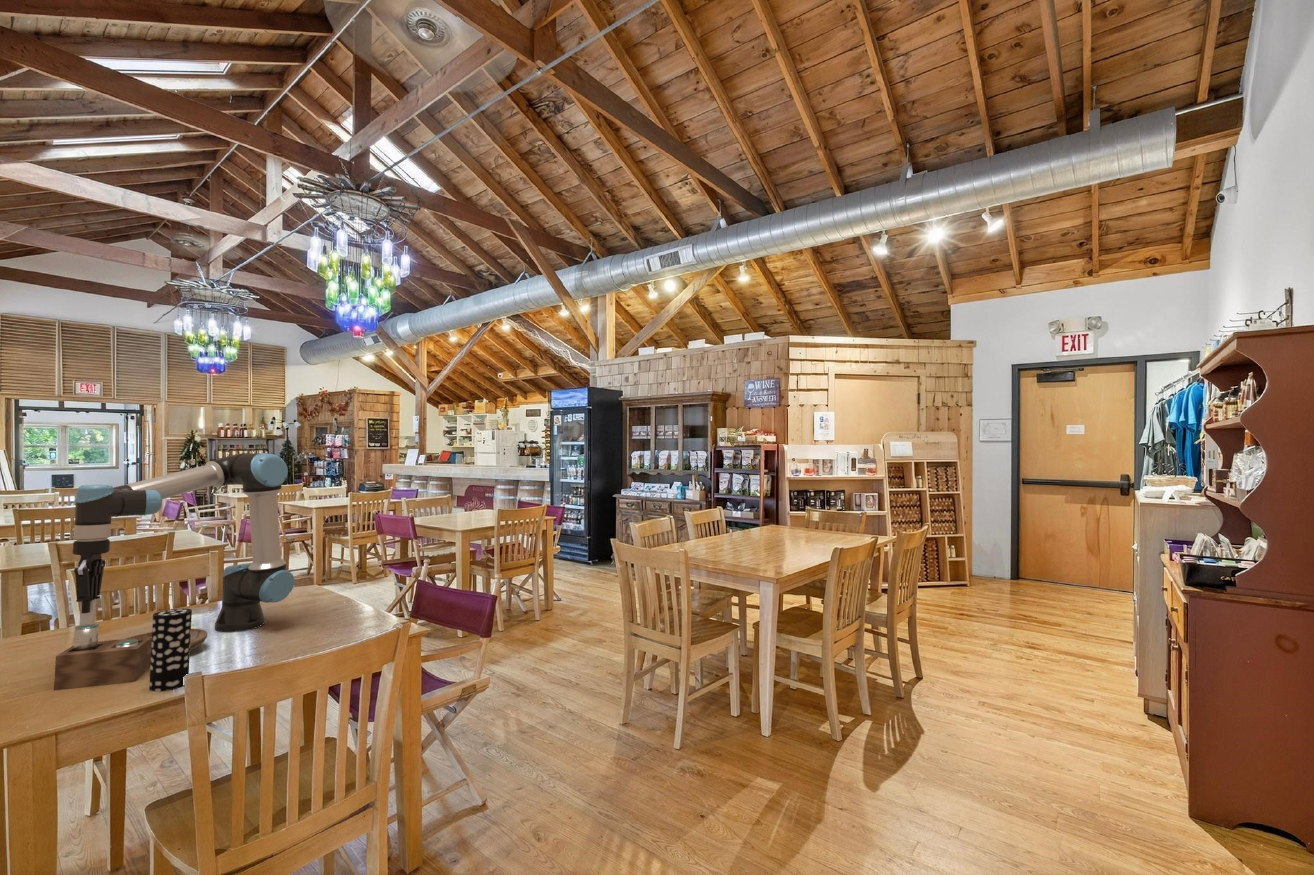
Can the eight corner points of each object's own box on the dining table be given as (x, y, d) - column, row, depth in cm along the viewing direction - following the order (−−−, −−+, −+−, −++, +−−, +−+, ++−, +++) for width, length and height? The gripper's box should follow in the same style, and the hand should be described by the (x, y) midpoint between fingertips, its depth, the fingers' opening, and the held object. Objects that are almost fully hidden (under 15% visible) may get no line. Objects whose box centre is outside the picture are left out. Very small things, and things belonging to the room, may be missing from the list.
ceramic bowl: (129, 647, 194) (129, 631, 194) (215, 640, 203) (216, 625, 203) (95, 670, 173) (96, 653, 173) (194, 661, 182) (194, 645, 182)
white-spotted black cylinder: (164, 680, 166) (167, 608, 167) (195, 679, 167) (199, 608, 168) (140, 691, 158) (145, 616, 159) (173, 691, 159) (177, 616, 159)
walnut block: (150, 667, 176) (152, 636, 176) (134, 681, 165) (136, 648, 165) (75, 674, 169) (77, 643, 169) (53, 690, 158) (55, 656, 158)
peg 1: (100, 653, 168) (101, 623, 169) (92, 658, 164) (94, 627, 164) (78, 655, 166) (79, 624, 167) (69, 660, 162) (71, 629, 162)
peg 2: (139, 668, 172) (140, 638, 172) (132, 673, 168) (134, 643, 168) (118, 670, 170) (119, 640, 170) (111, 676, 166) (112, 645, 166)
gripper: (85, 537, 171) (80, 619, 170) (62, 543, 159) (57, 631, 158) (118, 536, 174) (113, 616, 173) (99, 541, 162) (93, 628, 161)
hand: (86, 623), depth 166 cm, fingers closed
